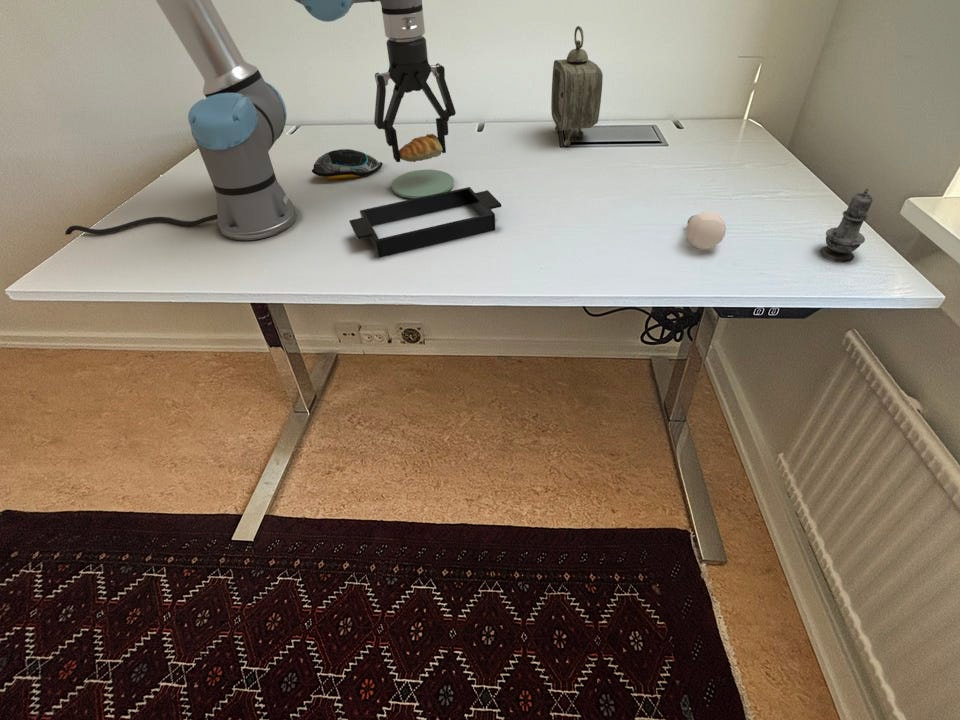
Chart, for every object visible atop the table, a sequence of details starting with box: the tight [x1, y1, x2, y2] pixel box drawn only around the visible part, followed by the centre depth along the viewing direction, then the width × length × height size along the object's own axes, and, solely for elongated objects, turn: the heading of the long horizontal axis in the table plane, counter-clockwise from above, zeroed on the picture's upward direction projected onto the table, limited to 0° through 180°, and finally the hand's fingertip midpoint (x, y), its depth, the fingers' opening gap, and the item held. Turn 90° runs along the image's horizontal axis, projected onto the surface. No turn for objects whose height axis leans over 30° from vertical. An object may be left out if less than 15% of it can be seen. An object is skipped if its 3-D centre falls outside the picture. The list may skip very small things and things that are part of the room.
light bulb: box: [685, 211, 727, 250], centre depth 97 cm, size 7×7×11 cm
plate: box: [391, 169, 455, 199], centre depth 121 cm, size 14×14×1 cm
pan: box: [349, 186, 502, 259], centre depth 105 cm, size 29×13×4 cm, turn 112°
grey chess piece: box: [819, 188, 874, 263], centre depth 90 cm, size 6×6×12 cm
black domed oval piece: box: [311, 148, 384, 180], centre depth 126 cm, size 9×17×6 cm, turn 116°
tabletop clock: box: [550, 25, 604, 147], centre depth 131 cm, size 14×9×25 cm, turn 6°
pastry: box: [399, 133, 443, 163], centre depth 115 cm, size 9×7×4 cm
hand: (419, 155), depth 116 cm, fingers closed on pastry, 10 cm apart
